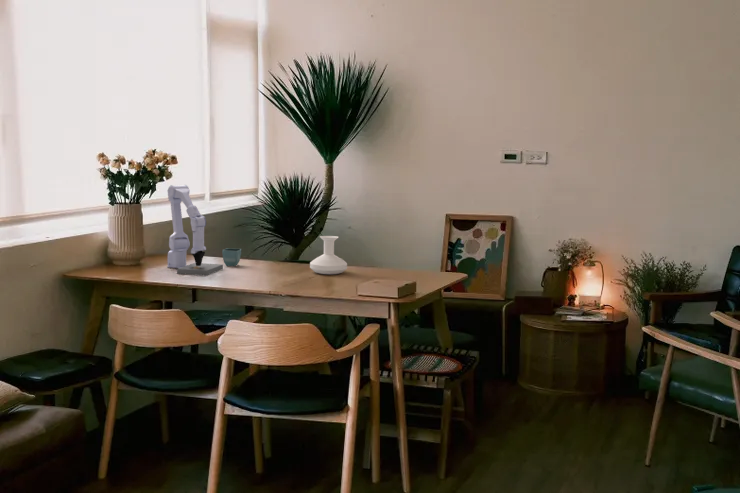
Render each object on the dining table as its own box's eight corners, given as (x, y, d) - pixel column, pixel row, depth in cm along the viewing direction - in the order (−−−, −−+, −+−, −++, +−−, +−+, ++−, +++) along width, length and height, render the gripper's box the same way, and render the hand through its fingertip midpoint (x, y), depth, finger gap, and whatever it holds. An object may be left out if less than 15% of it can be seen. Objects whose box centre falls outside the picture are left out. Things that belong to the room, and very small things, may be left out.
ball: (198, 274, 419) (194, 269, 417) (194, 274, 421) (190, 269, 419) (202, 269, 421) (198, 264, 419) (198, 269, 423) (194, 264, 421)
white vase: (342, 277, 420) (343, 240, 418) (305, 274, 424) (305, 238, 422) (350, 271, 440) (351, 235, 437) (315, 269, 444) (315, 234, 441)
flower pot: (241, 264, 451) (241, 248, 450) (237, 267, 442) (237, 250, 441) (226, 264, 452) (226, 248, 451) (221, 266, 443) (221, 250, 442)
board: (177, 273, 416) (177, 268, 416) (194, 267, 438) (194, 262, 437) (206, 275, 413) (206, 270, 413) (222, 269, 435) (222, 264, 434)
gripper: (200, 241, 413) (200, 268, 415) (211, 238, 427) (211, 264, 429) (187, 241, 414) (187, 267, 416) (198, 237, 429) (198, 263, 430)
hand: (198, 265), depth 423 cm, fingers closed
